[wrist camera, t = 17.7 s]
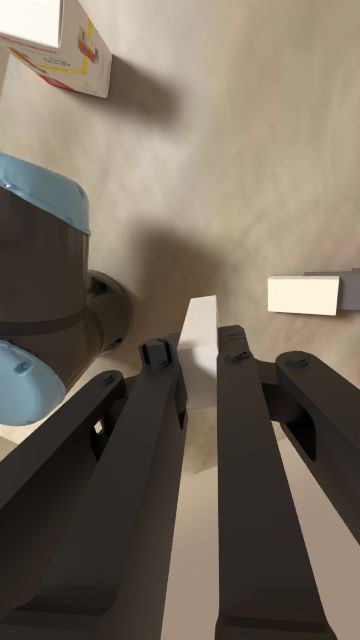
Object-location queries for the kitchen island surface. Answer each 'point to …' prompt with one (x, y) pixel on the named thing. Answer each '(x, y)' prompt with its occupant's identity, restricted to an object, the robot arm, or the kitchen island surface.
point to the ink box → (57, 43)
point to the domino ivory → (303, 294)
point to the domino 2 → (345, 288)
